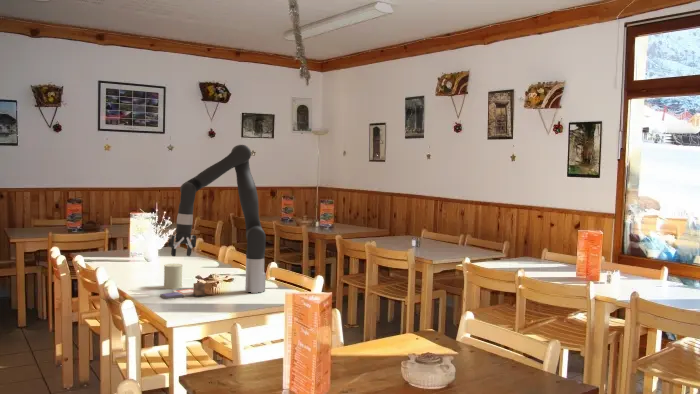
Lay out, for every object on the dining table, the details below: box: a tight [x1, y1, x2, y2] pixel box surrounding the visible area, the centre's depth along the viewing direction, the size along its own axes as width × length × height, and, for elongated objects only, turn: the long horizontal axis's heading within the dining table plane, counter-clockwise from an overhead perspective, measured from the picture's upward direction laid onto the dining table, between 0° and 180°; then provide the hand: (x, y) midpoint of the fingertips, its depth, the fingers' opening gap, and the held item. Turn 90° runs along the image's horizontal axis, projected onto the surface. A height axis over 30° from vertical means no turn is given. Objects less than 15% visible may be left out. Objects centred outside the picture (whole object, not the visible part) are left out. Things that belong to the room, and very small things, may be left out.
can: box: [163, 263, 183, 290], centre depth 317 cm, size 9×9×12 cm
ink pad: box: [159, 292, 185, 300], centre depth 295 cm, size 9×7×1 cm
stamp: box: [192, 282, 206, 298], centre depth 300 cm, size 4×4×6 cm
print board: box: [172, 288, 194, 296], centre depth 306 cm, size 11×10×1 cm
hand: (181, 256), depth 300 cm, fingers open, 8 cm apart
